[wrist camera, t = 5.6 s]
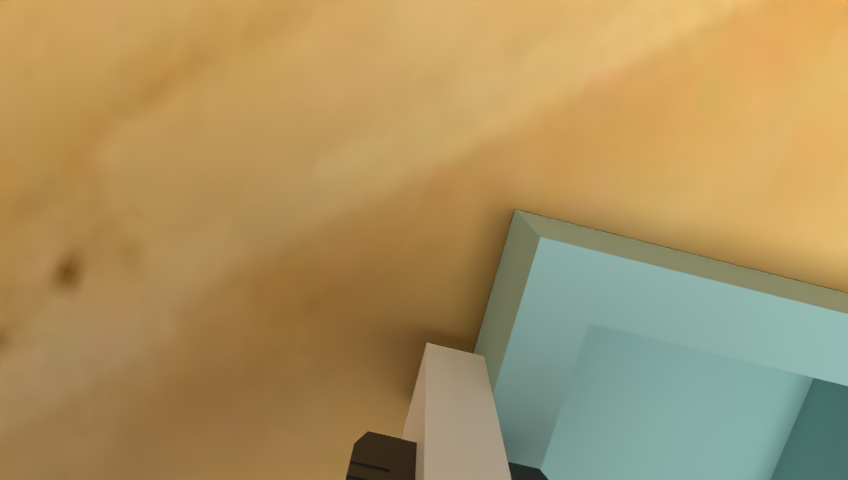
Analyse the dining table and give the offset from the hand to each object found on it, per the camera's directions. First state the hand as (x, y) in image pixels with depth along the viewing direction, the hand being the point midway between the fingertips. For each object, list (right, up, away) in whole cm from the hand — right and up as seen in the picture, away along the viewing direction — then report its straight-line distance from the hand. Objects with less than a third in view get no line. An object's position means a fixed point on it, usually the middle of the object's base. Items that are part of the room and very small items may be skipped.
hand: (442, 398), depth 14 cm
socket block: (+6, -1, +2) cm, 6 cm away
